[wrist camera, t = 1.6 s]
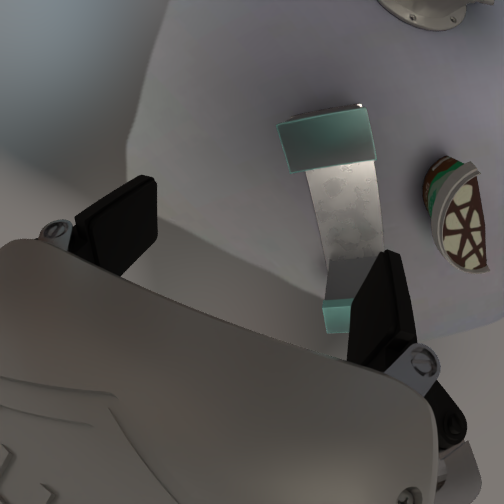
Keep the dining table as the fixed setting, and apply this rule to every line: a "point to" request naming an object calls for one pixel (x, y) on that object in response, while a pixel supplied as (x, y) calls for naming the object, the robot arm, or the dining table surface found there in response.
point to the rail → (347, 209)
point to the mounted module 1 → (327, 138)
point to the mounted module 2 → (343, 291)
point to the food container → (456, 214)
